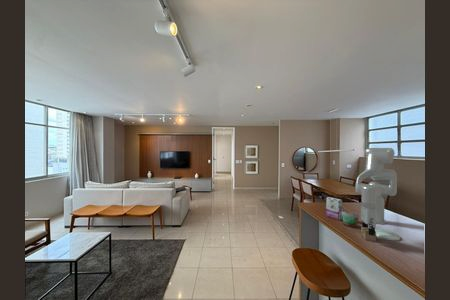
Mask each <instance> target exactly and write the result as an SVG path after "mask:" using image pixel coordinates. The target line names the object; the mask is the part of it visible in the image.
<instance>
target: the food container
mask: <svg viewBox="0 0 450 300" xmlns="http://www.w3.org/2000/svg"><path fill="white" fill-rule="evenodd" d="M344 210H345V209H342V213H341V214H342V225H344V226H345V227H347V228H352V229H355V228H358V221H359V218H360V216H359V214H355V213H353V212H348V211H344Z"/></svg>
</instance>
